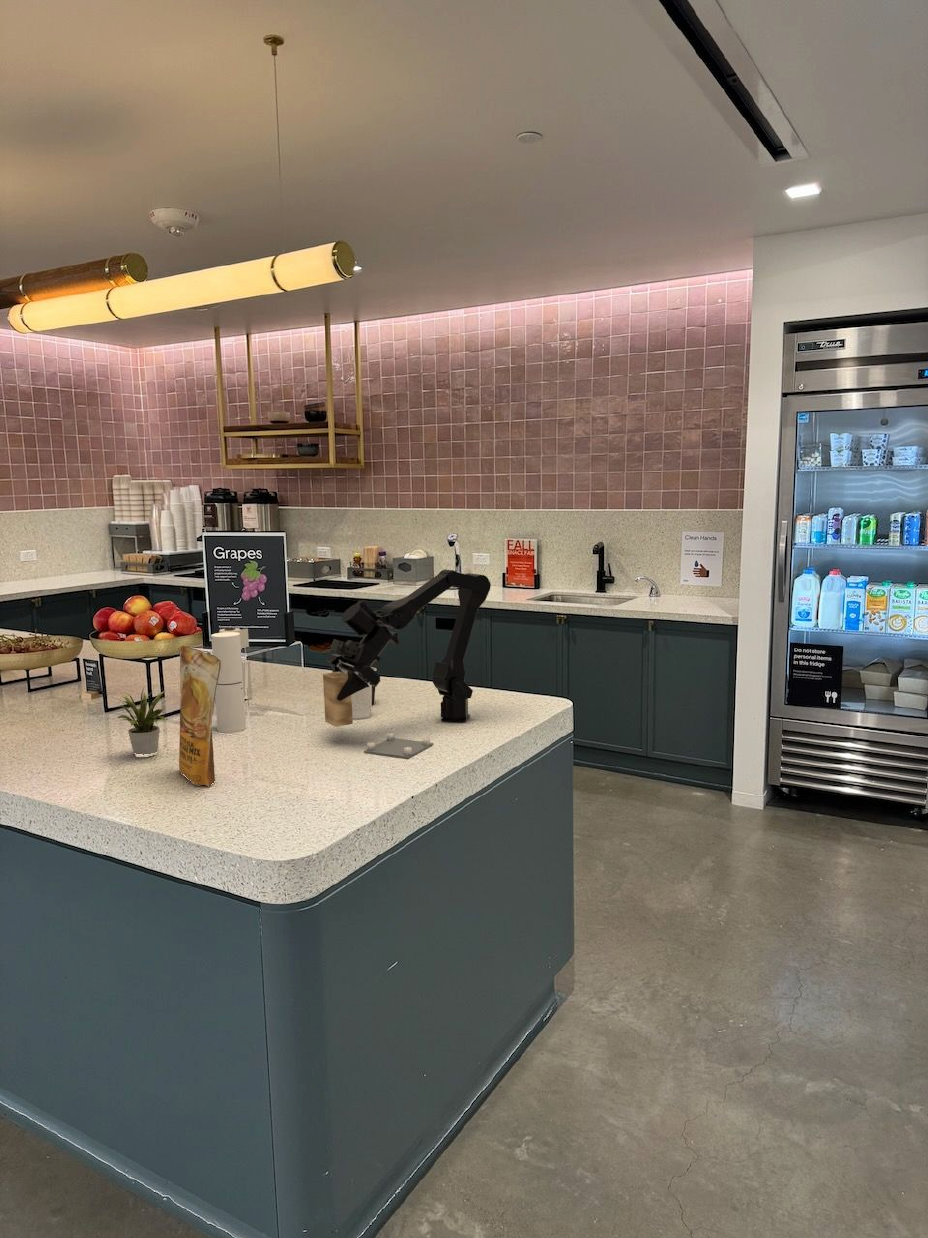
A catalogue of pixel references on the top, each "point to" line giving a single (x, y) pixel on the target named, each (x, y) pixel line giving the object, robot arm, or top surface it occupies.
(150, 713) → the house plant
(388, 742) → the peg plate
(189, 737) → the pancake mix bag
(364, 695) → the white cup
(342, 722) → the wooden block
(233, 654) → the cylindrical container
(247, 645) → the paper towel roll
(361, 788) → the top surface
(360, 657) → the robot arm
